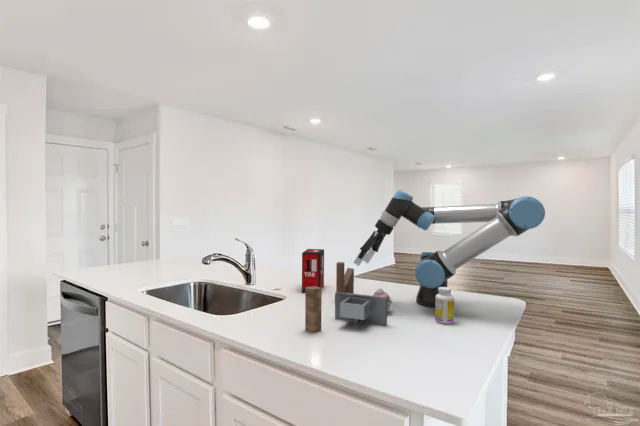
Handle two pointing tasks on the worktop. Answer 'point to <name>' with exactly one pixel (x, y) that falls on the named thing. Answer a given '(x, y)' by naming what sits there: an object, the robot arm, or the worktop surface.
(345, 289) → the brown wooden piece
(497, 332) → the worktop surface
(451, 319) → the supplement bottle
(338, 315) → the cup bracket
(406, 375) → the worktop surface
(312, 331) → the post
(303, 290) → the cleaning product box
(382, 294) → the cupcake
